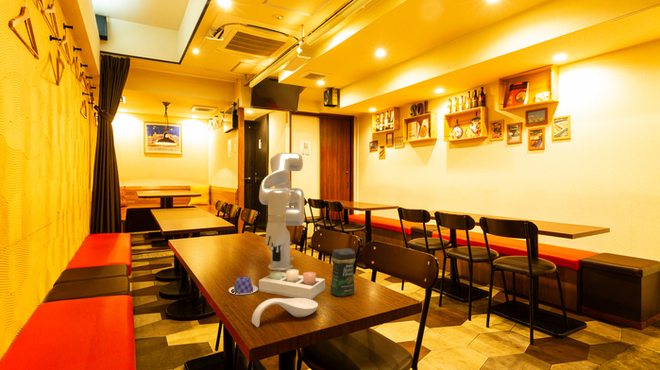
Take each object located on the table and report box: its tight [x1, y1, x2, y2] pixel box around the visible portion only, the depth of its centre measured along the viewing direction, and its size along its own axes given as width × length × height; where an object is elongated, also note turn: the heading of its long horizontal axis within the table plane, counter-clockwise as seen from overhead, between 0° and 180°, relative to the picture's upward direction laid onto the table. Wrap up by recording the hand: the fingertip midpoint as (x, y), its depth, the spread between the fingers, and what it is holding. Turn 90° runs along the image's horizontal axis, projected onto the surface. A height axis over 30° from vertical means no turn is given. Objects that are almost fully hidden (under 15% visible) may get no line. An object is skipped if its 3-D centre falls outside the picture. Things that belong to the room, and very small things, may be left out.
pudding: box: [228, 276, 259, 295], centre depth 141 cm, size 12×12×5 cm
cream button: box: [285, 268, 300, 283], centre depth 142 cm, size 5×5×5 cm
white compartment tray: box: [258, 272, 326, 300], centre depth 142 cm, size 14×24×4 cm, turn 67°
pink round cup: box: [302, 271, 317, 286], centre depth 139 cm, size 5×5×5 cm
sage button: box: [269, 270, 283, 280], centre depth 145 cm, size 5×5×5 cm
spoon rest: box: [251, 297, 319, 328], centre depth 115 cm, size 24×12×7 cm, turn 127°
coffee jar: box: [330, 247, 356, 297], centre depth 139 cm, size 10×8×19 cm
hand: (276, 260), depth 146 cm, fingers closed
